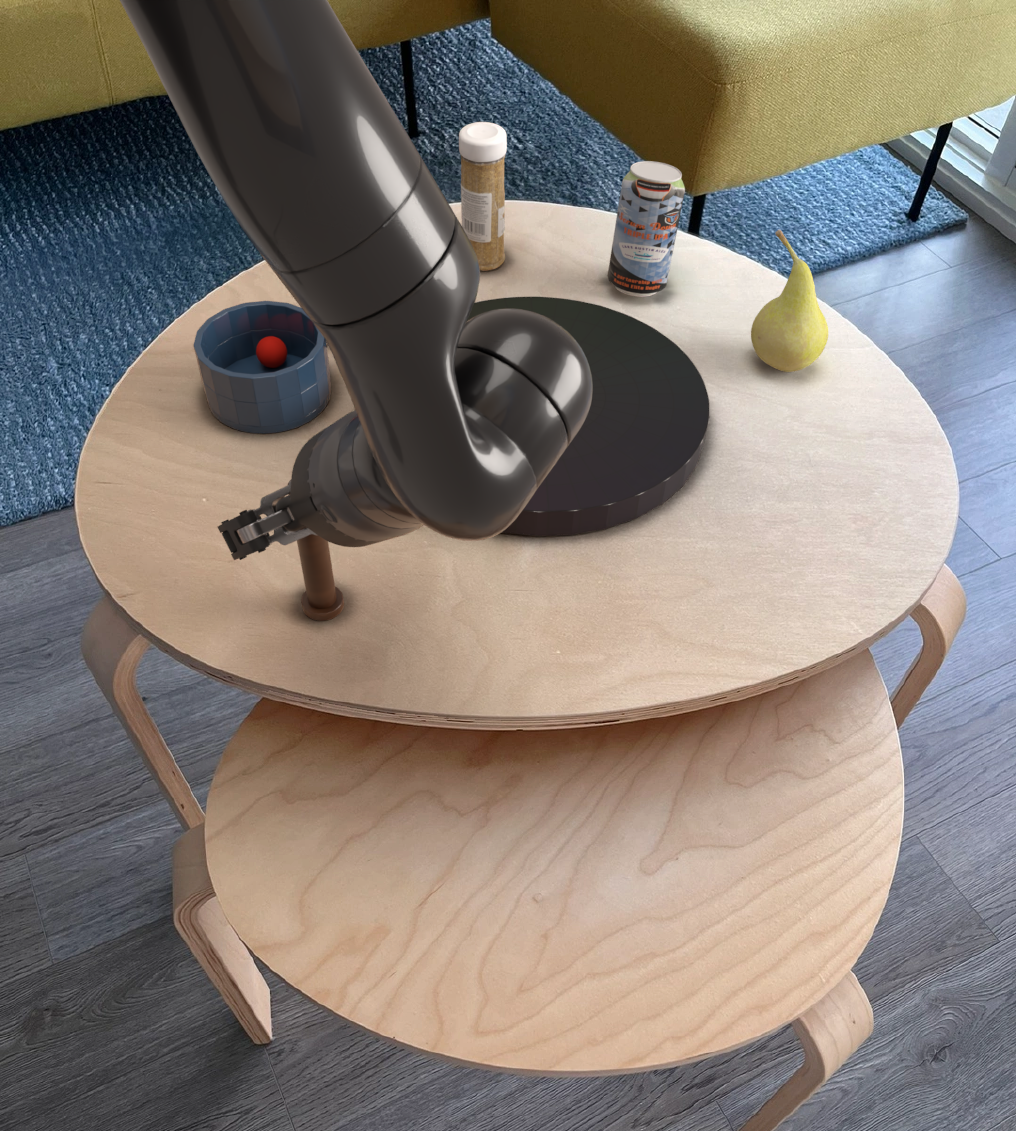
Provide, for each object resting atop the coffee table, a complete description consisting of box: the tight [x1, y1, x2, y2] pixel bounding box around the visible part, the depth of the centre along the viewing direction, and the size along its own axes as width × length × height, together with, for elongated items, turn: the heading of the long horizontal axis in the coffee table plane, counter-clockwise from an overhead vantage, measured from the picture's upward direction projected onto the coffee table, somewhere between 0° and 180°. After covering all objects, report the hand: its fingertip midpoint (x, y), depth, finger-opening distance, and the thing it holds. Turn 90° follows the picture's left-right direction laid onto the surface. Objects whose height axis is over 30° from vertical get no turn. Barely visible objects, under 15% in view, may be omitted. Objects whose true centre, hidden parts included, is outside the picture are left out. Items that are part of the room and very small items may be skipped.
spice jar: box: [458, 121, 508, 271], centre depth 112 cm, size 5×5×13 cm
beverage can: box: [607, 160, 686, 298], centre depth 110 cm, size 6×7×12 cm
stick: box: [286, 480, 345, 622], centre depth 82 cm, size 3×3×12 cm
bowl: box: [193, 300, 332, 435], centre depth 100 cm, size 11×11×6 cm
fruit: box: [750, 229, 829, 373], centre depth 102 cm, size 7×8×12 cm
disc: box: [466, 295, 710, 537], centre depth 100 cm, size 30×30×3 cm
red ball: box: [256, 336, 287, 368], centre depth 103 cm, size 3×3×3 cm
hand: (299, 509), depth 80 cm, fingers open, 8 cm apart
